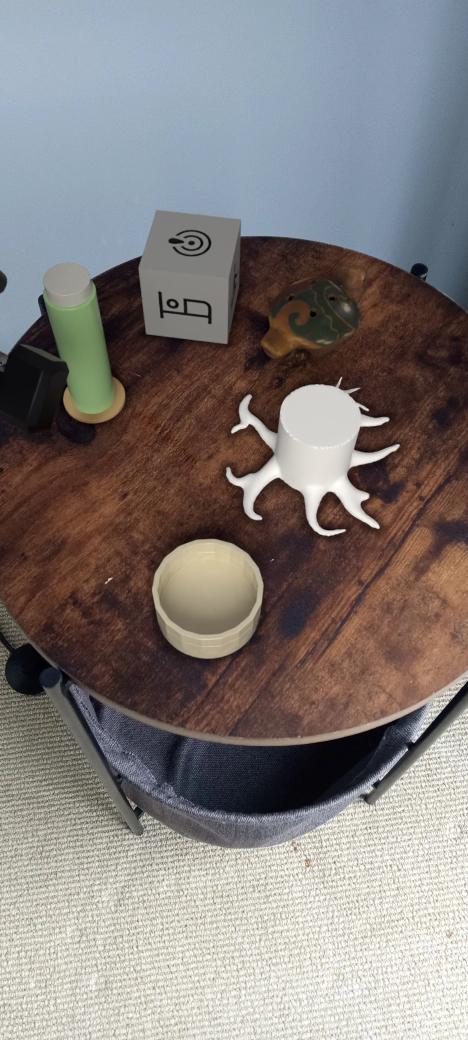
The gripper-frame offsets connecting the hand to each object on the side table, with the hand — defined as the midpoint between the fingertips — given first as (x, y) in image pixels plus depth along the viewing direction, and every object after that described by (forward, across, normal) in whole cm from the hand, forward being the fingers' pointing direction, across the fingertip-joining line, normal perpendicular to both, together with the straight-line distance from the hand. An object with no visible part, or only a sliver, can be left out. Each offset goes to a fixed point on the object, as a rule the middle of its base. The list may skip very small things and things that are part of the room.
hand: (25, 358), depth 67 cm
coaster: (+15, 0, +4) cm, 16 cm away
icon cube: (+28, -2, -8) cm, 29 cm away
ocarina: (+30, -17, -11) cm, 36 cm away
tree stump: (+19, -25, +1) cm, 31 cm away
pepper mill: (+14, 0, +4) cm, 15 cm away
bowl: (+4, -25, +15) cm, 29 cm away
